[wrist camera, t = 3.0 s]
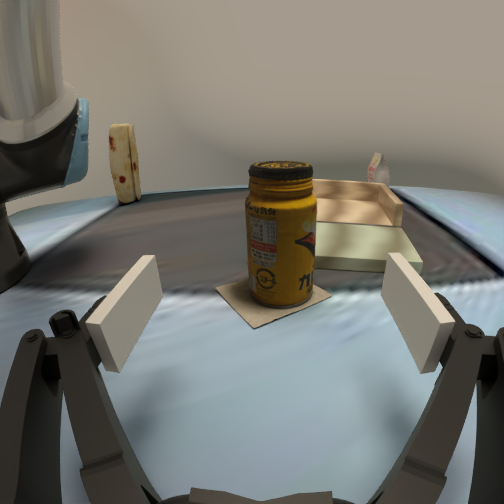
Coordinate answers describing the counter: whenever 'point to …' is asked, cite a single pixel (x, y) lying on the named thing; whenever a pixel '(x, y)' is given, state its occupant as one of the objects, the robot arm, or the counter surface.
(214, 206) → the counter surface
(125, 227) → the counter surface
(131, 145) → the food model
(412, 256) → the open-front wooden tray
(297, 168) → the condiment
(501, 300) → the counter surface
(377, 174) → the tea bag
